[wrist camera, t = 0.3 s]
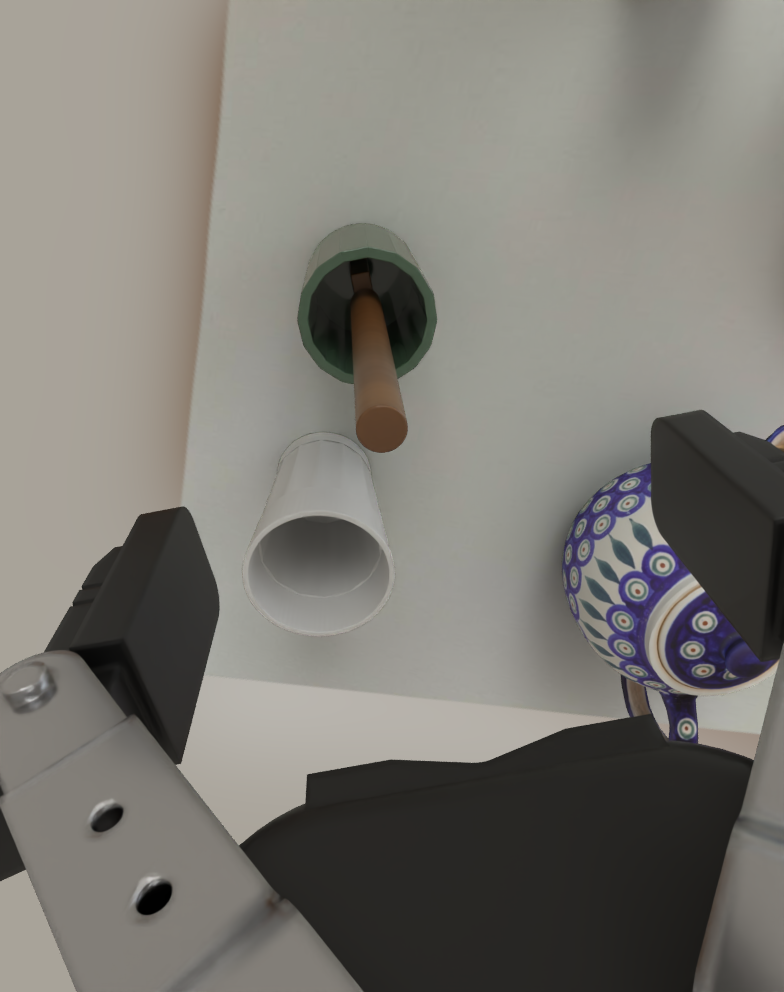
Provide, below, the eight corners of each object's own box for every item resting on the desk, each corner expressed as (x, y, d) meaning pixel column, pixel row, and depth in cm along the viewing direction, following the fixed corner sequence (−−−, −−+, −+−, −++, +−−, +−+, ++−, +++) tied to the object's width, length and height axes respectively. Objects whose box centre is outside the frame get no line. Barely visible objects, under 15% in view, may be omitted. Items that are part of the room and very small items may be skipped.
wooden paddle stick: (344, 259, 40) (345, 386, 21) (371, 253, 40) (398, 375, 21) (355, 314, 42) (366, 479, 22) (381, 308, 42) (415, 470, 22)
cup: (253, 511, 48) (228, 620, 38) (279, 406, 45) (260, 494, 34) (364, 537, 50) (370, 648, 39) (398, 437, 46) (414, 530, 36)
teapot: (689, 665, 57) (790, 823, 44) (513, 655, 56) (565, 817, 43) (810, 374, 46) (995, 473, 33) (592, 351, 44) (697, 446, 31)
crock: (294, 235, 40) (283, 262, 32) (408, 213, 40) (425, 235, 32) (320, 346, 43) (315, 396, 35) (426, 326, 43) (445, 372, 35)
